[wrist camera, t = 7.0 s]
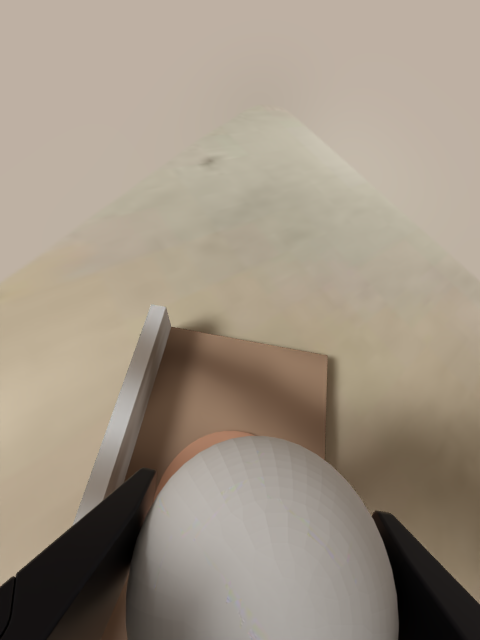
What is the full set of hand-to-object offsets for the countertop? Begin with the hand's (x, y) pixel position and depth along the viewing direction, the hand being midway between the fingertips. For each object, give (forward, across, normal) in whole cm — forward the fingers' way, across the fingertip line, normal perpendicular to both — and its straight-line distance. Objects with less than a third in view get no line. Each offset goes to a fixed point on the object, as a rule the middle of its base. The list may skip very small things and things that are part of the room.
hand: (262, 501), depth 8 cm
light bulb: (+4, 0, +6) cm, 7 cm away
